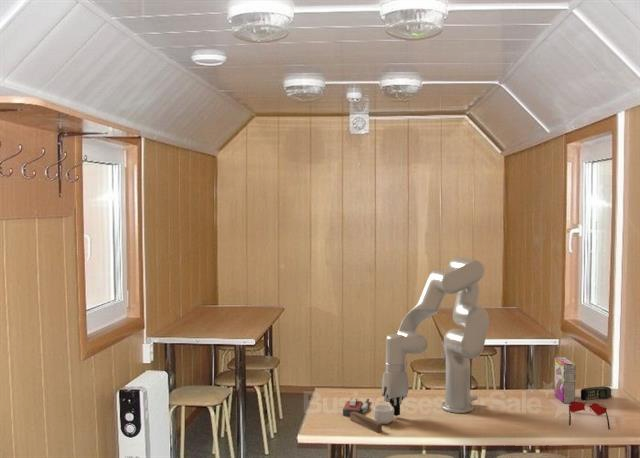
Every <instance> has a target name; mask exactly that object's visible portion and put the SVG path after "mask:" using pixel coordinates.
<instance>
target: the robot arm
mask: <svg viewBox="0 0 640 458" xmlns="http://www.w3.org/2000/svg"><path fill="white" fill-rule="evenodd" d="M484 275H485V266H484V264H483V263H482V262H481V261H479V260H476V259H474V258H473V259H472V258H466V257H459V256H458V257H453V258H452V259H450V260H449V262H448V270H443V269H435V270H432V271H430V274H429V275H428V276H427V279H426V281H425V284H424V286H423V289H422V292H421V293H420V296H419V299H418V301H417V303H416V305H415V306H414V307H412V308H411V309H410V310H409V311H408V313H406V314H405V316H404V317H403V319H402V320H401V322H400V325H399V328H398V330H397V333H391V334H387V335H386V338H385V370H384V372H383V374H382V380H381V396H382V397H384V398H383V401H384V402H386V403H389V404H390V405H391V406H393V407H394V416H400V415H401V405H402V404H403V403H402V402H403V401H404V399H406V398H407V397H408V393H409V378H408V371H407V369H406V367H407V365H408V362H406V359H407V358H406V357H407V356H406V354H411V355H418V354H419V355H420V354H422V353H424V352H425V351H426V350H427V348H428V341H427V339H426V337H425V336H423V335H422V334H420V333H417V332H416V331H417V330H418V327H419V326H420V324H421V323H422V322H423V321H424V320H426V319H427V318H429V317H432V316H434V315H437V314H438V313H439V310H440V309H441V305H442V303H443V301H444V298H445V296H446V294H448V295H454V294H456V297H455V303H454V306H453V310H452V321H453V322H454V323H455V324H456V325H458V326H459V327H463V328H465V329H464V330H463V329H461V328H460V329H459V328H451V329H450V330H449V329H448V331H446V332H445V335H444V337H443V349H444V355H445V399H444V400H445V401H443V402H442V403H441V404H440V406H441V409H442V410H444V411H446V412H449V413H455V414H466V413H467V414H468V413H471V412H472V411H474V407H475V406H474V404H472V403H473V402H474V401H477V400H478V395H471V361H470V360H474V359H477V358H478V357H479V356H480V355H482V352H483V351H484V347H485V343H486V338H487V333H488V329H489V323H490V318H489V314H488V312H487V310H486V309H485V308H484V307H482V306H479V305H478V303H479V296H480V286H479V282H480V281H481V280H482V279H483V277H484Z"/></svg>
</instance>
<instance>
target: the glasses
mask: <svg viewBox="0 0 640 458" xmlns="http://www.w3.org/2000/svg"><path fill="white" fill-rule="evenodd" d="M586 404H587V402H585V401H575V402H572V401H571V403H570V404H569V405H568V413H569V414H568V415H569V416H568V417H569V419H568V426H572V425H571V423H572V422H571V421H572V420H571V419H572V415H571V413H576V412H580V411H585V410H586V408H585V407H586ZM588 407H589V411H590V412H594V413H595V415H596V416H602V415H604V414H605V416H606V420H607V421H606V422H607V428H608V430H609V429H610V430H611V427H610V420H609V416H608V412H607V407H606V406H605V405H604V404H602V403H596V402H590V405H588Z"/></svg>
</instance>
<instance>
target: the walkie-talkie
mask: <svg viewBox="0 0 640 458" xmlns="http://www.w3.org/2000/svg"><path fill="white" fill-rule="evenodd" d="M369 401H370V399H369V398H367V399H366V401H365V403H363V401H360V400H358V398H350V400H347V401H346V402H345V405H344V407H343V409H342V416H343V417H350V412H354V411H355V412H357V413H359V414H362V413H366V412H367V411H368V409H369Z"/></svg>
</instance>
